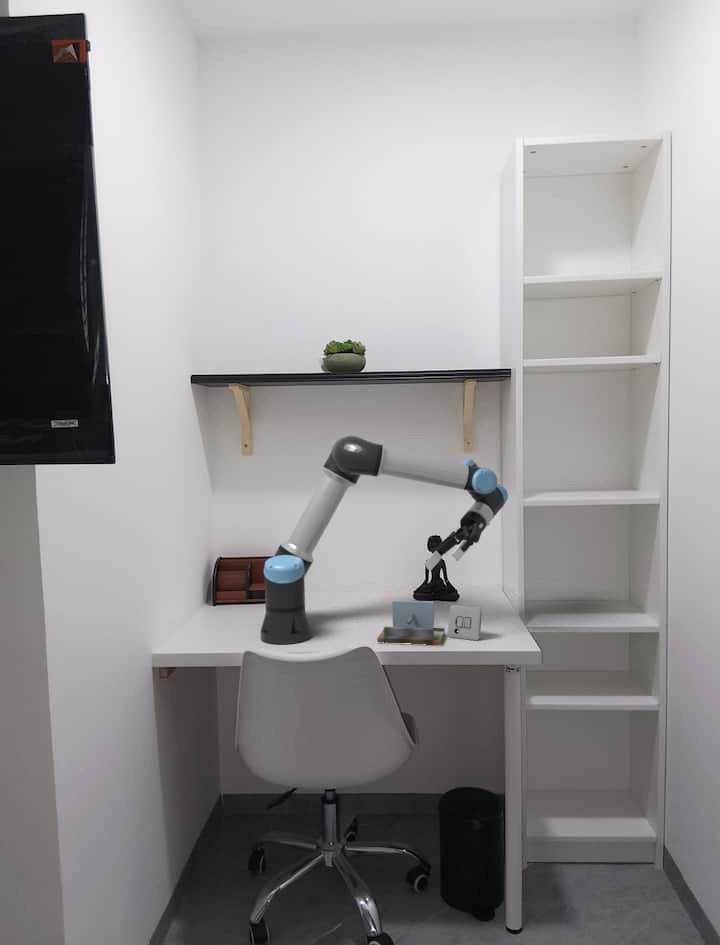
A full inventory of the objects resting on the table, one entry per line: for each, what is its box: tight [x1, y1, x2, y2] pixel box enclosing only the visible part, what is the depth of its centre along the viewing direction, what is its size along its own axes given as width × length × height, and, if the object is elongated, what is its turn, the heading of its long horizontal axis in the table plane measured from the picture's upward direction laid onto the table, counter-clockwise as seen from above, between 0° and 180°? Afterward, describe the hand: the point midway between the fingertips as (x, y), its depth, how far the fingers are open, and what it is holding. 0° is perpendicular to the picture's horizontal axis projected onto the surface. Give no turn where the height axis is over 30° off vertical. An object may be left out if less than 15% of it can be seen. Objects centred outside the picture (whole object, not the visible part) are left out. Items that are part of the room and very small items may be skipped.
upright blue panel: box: [392, 599, 445, 631], centre depth 207 cm, size 15×8×8 cm, turn 77°
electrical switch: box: [447, 604, 483, 641], centre depth 209 cm, size 9×5×9 cm, turn 62°
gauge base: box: [376, 626, 446, 646], centre depth 207 cm, size 18×10×4 cm, turn 77°
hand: (440, 562), depth 211 cm, fingers open, 13 cm apart
